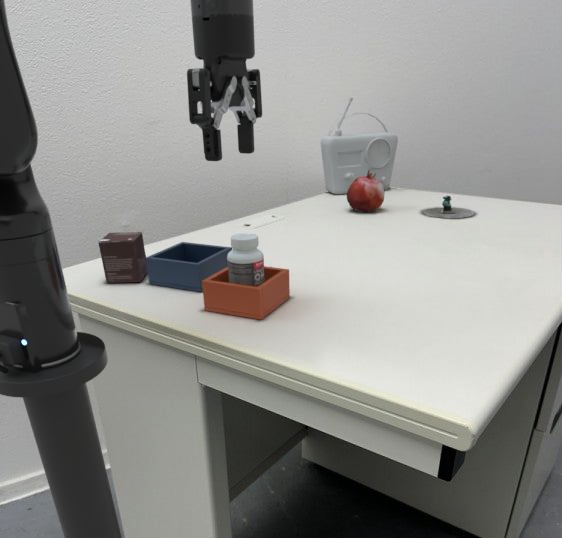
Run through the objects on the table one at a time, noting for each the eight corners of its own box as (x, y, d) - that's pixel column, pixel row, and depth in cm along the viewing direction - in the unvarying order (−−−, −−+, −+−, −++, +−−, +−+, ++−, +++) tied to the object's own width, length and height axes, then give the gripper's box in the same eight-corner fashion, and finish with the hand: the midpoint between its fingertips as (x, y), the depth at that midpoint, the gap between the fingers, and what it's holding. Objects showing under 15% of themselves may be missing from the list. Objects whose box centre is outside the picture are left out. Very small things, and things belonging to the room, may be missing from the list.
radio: (330, 197, 155) (331, 98, 143) (318, 192, 162) (319, 97, 150) (398, 190, 161) (405, 95, 149) (384, 185, 168) (390, 94, 156)
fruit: (340, 208, 141) (341, 167, 136) (374, 205, 143) (376, 165, 138) (354, 216, 133) (355, 173, 128) (389, 212, 135) (392, 170, 130)
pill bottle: (264, 306, 81) (261, 240, 76) (228, 306, 81) (223, 241, 76) (266, 293, 85) (263, 231, 81) (232, 294, 86) (227, 231, 81)
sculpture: (413, 212, 137) (432, 185, 136) (434, 233, 141) (453, 207, 140) (442, 218, 126) (463, 189, 125) (464, 241, 131) (485, 213, 130)
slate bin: (201, 292, 89) (198, 264, 86) (149, 284, 93) (145, 257, 91) (234, 272, 97) (232, 247, 95) (185, 266, 101) (182, 241, 99)
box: (149, 272, 99) (143, 231, 95) (140, 283, 93) (133, 240, 90) (116, 272, 99) (108, 232, 95) (105, 283, 94) (97, 241, 90)
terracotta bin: (261, 319, 78) (259, 289, 76) (204, 310, 82) (201, 280, 79) (289, 297, 85) (289, 269, 83) (236, 289, 89) (234, 262, 87)
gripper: (227, 20, 73) (234, 150, 81) (161, 10, 62) (176, 162, 70) (276, 17, 70) (279, 152, 78) (217, 6, 59) (226, 164, 67)
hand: (230, 156), depth 74 cm, fingers open, 8 cm apart
